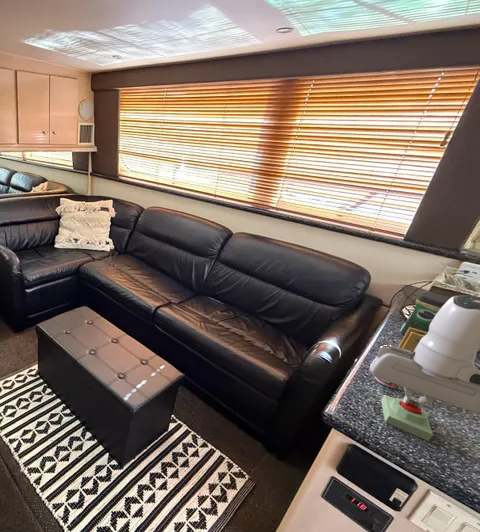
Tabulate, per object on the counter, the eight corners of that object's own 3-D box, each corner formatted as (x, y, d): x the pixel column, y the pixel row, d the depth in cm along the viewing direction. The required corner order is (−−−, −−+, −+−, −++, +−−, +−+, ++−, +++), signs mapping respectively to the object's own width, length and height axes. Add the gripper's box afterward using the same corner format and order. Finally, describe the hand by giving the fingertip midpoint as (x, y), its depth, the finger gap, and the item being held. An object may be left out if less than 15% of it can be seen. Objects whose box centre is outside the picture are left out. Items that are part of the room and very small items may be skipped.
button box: (380, 400, 88) (387, 389, 86) (420, 416, 83) (428, 405, 82) (384, 422, 80) (392, 410, 79) (428, 441, 76) (437, 429, 74)
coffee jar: (435, 342, 122) (461, 299, 115) (429, 346, 118) (455, 302, 111) (403, 329, 130) (425, 288, 123) (395, 333, 126) (418, 291, 119)
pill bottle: (391, 390, 92) (406, 365, 89) (370, 378, 97) (383, 354, 93) (400, 386, 94) (415, 361, 91) (379, 374, 99) (392, 351, 96)
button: (398, 402, 83) (401, 397, 82) (417, 410, 81) (420, 405, 80) (400, 410, 80) (403, 405, 80) (419, 418, 78) (423, 413, 78)
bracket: (416, 362, 107) (434, 333, 103) (420, 373, 102) (439, 342, 97) (385, 352, 111) (401, 323, 107) (388, 361, 106) (404, 331, 102)
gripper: (385, 347, 78) (360, 391, 83) (509, 388, 67) (473, 435, 73) (380, 336, 83) (358, 378, 88) (496, 372, 72) (462, 417, 77)
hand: (411, 404), depth 80 cm, fingers closed, pressing on button
